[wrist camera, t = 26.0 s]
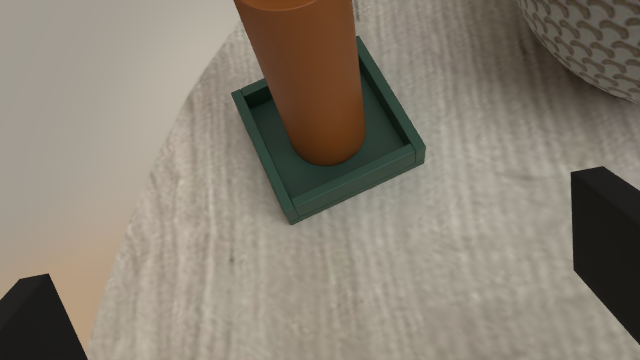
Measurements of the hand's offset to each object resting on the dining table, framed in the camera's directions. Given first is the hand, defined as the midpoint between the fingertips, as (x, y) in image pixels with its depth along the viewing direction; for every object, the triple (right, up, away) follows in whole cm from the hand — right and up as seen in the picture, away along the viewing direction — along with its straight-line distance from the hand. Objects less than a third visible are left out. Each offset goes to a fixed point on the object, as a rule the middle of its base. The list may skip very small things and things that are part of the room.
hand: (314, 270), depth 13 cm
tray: (+1, +5, +18) cm, 19 cm away
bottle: (+1, +5, +17) cm, 18 cm away
